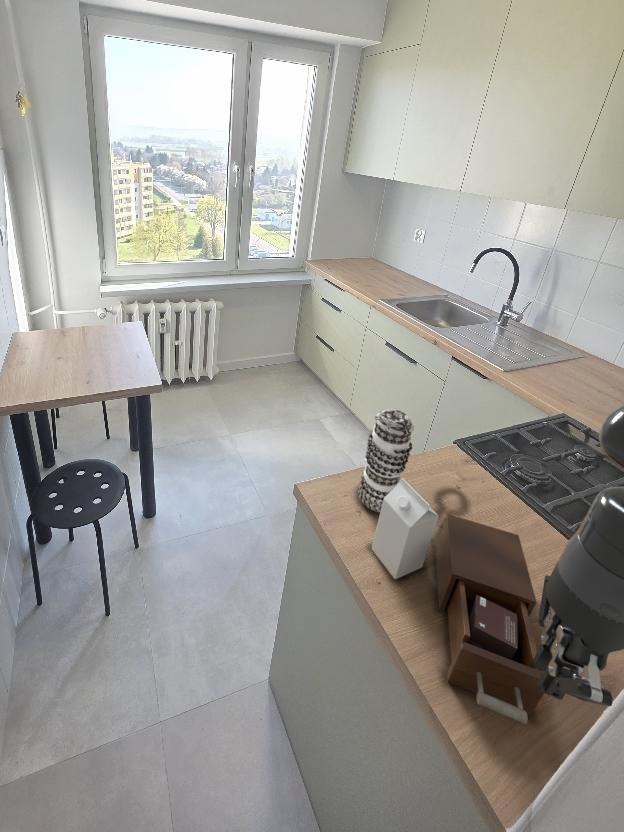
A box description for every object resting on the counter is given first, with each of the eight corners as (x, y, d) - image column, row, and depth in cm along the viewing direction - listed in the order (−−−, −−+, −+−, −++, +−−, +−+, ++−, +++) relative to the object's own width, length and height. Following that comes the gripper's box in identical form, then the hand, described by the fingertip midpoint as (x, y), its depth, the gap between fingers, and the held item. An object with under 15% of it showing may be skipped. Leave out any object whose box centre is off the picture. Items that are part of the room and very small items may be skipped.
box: (503, 677, 65) (518, 649, 63) (461, 653, 68) (473, 626, 65) (504, 641, 70) (518, 614, 67) (465, 620, 73) (476, 593, 70)
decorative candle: (395, 492, 102) (417, 408, 92) (396, 523, 94) (420, 434, 83) (357, 482, 104) (374, 399, 94) (354, 511, 96) (373, 424, 86)
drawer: (537, 751, 58) (559, 718, 55) (449, 712, 62) (464, 679, 58) (513, 631, 73) (529, 599, 69) (442, 605, 76) (454, 574, 73)
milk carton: (397, 540, 90) (415, 473, 82) (421, 569, 84) (444, 500, 76) (370, 551, 87) (387, 482, 79) (394, 582, 81) (414, 511, 73)
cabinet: (516, 641, 72) (536, 602, 68) (438, 612, 76) (452, 573, 72) (502, 571, 84) (518, 535, 80) (434, 549, 88) (447, 513, 84)
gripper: (689, 674, 35) (607, 771, 42) (619, 540, 47) (564, 633, 54) (583, 637, 37) (522, 735, 44) (542, 518, 49) (499, 610, 56)
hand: (545, 679), depth 49 cm, fingers closed
